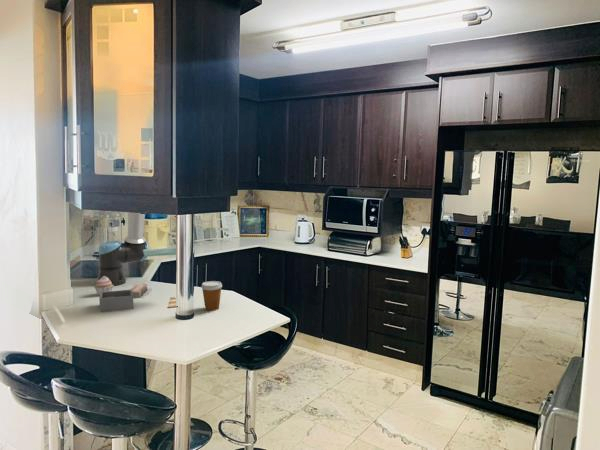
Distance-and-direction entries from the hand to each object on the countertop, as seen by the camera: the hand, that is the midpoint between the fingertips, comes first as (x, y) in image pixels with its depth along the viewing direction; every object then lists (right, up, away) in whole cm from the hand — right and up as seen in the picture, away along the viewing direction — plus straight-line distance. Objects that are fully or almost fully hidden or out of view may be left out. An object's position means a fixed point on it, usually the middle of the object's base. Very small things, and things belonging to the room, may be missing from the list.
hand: (183, 256), depth 218 cm
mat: (-10, -22, -1) cm, 25 cm away
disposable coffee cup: (+15, -24, -8) cm, 29 cm away
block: (-32, -22, -9) cm, 40 cm away
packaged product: (-27, -21, +14) cm, 37 cm away
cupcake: (-44, -21, +13) cm, 50 cm away
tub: (-28, -23, -9) cm, 38 cm away
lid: (-7, +2, -3) cm, 8 cm away
